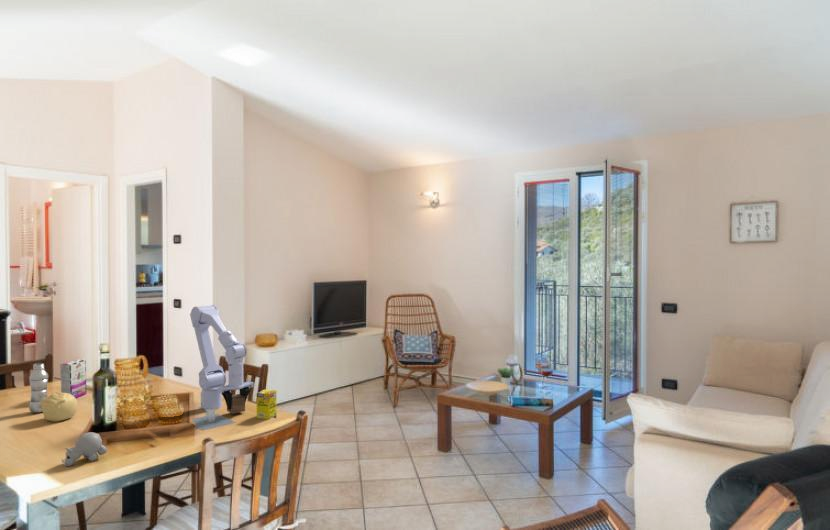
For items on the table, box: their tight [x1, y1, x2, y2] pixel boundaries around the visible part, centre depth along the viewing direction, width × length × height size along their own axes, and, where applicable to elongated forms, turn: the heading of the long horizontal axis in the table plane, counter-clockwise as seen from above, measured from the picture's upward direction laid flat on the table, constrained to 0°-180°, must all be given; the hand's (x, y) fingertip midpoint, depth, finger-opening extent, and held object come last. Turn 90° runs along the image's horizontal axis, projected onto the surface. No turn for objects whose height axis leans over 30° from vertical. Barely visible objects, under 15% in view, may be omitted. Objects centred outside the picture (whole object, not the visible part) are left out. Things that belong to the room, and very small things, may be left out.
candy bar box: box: [59, 358, 88, 399], centre depth 244 cm, size 11×5×16 cm, turn 179°
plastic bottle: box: [28, 362, 49, 414], centre depth 220 cm, size 6×7×20 cm
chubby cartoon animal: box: [61, 431, 108, 467], centre depth 168 cm, size 7×12×8 cm, turn 143°
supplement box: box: [256, 389, 277, 420], centre depth 212 cm, size 6×6×11 cm
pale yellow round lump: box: [40, 391, 79, 423], centre depth 211 cm, size 12×12×11 cm
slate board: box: [193, 413, 236, 431], centre depth 205 cm, size 16×13×1 cm
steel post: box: [205, 407, 216, 423], centre depth 205 cm, size 3×3×5 cm
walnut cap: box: [226, 393, 246, 415], centre depth 216 cm, size 5×5×6 cm
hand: (236, 407), depth 216 cm, fingers closed on walnut cap, 5 cm apart
